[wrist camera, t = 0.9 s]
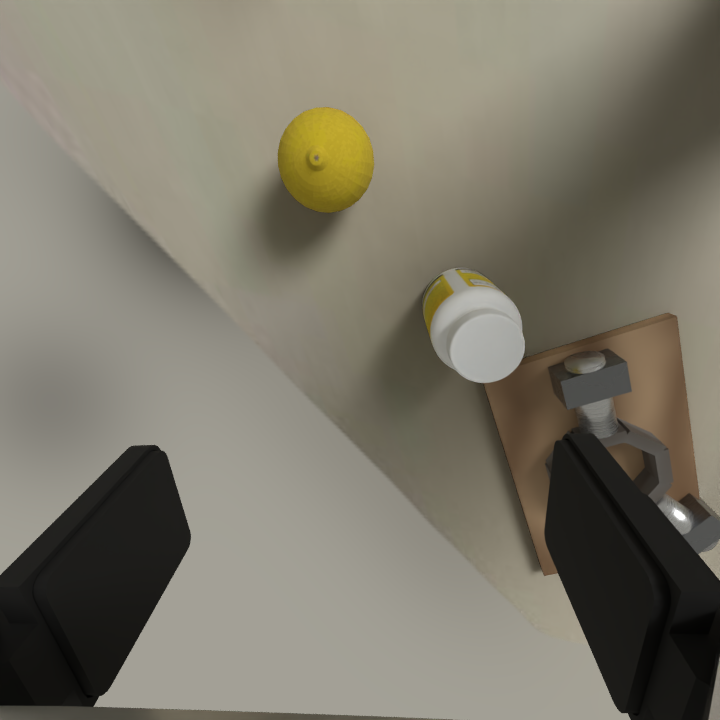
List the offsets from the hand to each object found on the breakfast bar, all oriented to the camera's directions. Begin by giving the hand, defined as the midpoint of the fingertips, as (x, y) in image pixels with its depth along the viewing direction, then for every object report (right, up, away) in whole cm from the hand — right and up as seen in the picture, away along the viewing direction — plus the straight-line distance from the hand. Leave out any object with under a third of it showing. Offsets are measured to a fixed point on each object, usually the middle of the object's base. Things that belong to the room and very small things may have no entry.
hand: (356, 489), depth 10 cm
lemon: (-2, +16, +18) cm, 25 cm away
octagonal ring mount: (+20, -5, +25) cm, 33 cm away
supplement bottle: (+7, +7, +21) cm, 24 cm away
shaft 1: (+17, +1, +23) cm, 29 cm away
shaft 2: (+26, -9, +27) cm, 39 cm away
